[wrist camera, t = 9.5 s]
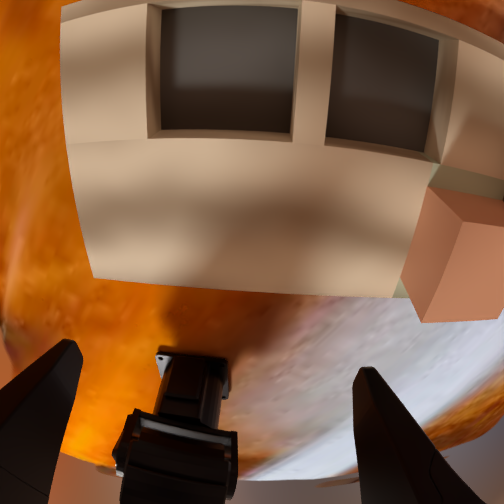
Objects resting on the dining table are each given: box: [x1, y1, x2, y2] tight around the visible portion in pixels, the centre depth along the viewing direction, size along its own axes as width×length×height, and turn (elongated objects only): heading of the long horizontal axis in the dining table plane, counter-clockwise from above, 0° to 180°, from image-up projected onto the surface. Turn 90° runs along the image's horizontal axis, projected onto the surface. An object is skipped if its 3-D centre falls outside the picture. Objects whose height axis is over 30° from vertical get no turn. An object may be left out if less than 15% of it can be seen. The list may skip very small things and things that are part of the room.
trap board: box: [60, 0, 504, 298], centre depth 15 cm, size 17×27×4 cm, turn 88°
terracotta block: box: [400, 186, 504, 323], centre depth 15 cm, size 6×6×4 cm
